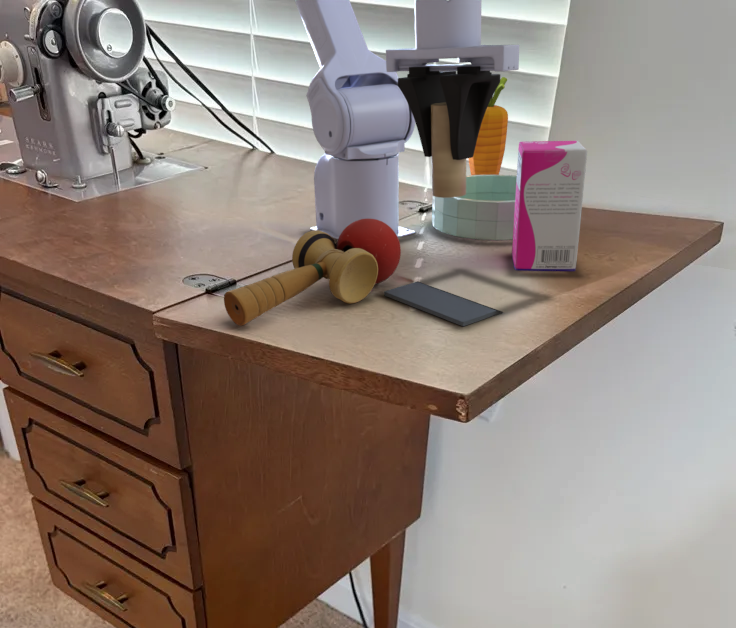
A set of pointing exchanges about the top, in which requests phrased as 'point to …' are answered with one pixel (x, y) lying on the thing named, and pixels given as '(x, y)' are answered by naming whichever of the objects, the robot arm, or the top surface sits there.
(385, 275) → the kendama
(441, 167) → the birch peg
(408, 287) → the felt mat
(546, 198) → the supplement box
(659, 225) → the top surface
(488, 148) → the carrot
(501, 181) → the bowl
